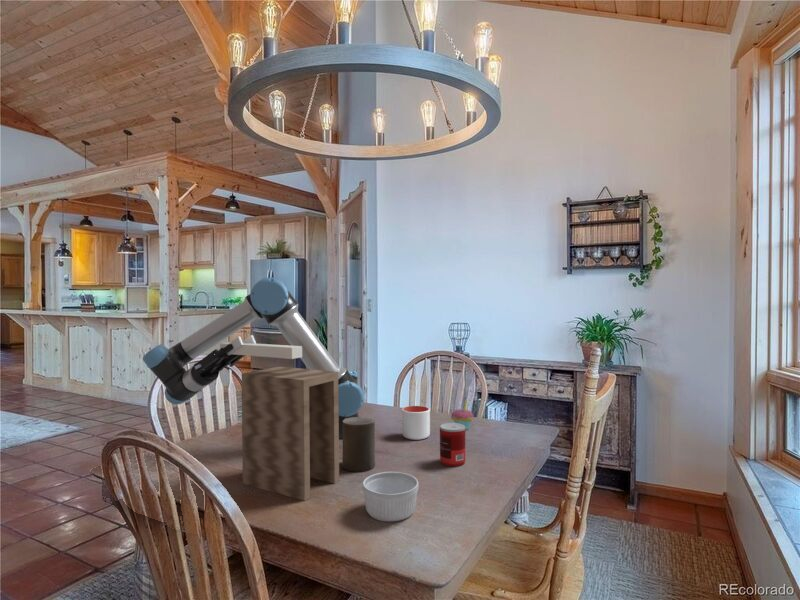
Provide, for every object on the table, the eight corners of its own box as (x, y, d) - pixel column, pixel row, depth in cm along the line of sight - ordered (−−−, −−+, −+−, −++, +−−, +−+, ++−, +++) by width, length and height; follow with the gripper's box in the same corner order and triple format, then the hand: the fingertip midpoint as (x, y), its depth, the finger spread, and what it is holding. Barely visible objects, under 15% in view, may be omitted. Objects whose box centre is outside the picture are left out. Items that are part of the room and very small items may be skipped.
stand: (242, 483, 127) (241, 373, 126) (279, 467, 139) (278, 366, 138) (304, 500, 116) (303, 380, 115) (339, 481, 128) (338, 372, 128)
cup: (427, 441, 162) (427, 412, 162) (399, 440, 164) (399, 411, 164) (431, 433, 172) (431, 406, 172) (405, 431, 174) (404, 405, 174)
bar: (220, 353, 138) (220, 343, 138) (231, 351, 141) (231, 342, 141) (292, 358, 124) (291, 347, 124) (302, 357, 127) (302, 346, 127)
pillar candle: (366, 474, 133) (367, 421, 133) (336, 469, 136) (336, 418, 136) (380, 462, 142) (380, 413, 142) (351, 459, 145) (351, 411, 145)
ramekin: (422, 523, 104) (421, 492, 104) (362, 526, 103) (362, 495, 103) (415, 498, 117) (415, 470, 117) (362, 500, 116) (362, 472, 116)
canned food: (467, 459, 144) (467, 423, 144) (462, 468, 137) (462, 430, 137) (443, 456, 147) (443, 421, 147) (437, 465, 139) (436, 428, 139)
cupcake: (477, 427, 179) (476, 396, 179) (467, 432, 172) (467, 400, 172) (456, 424, 184) (456, 393, 184) (447, 429, 177) (446, 397, 177)
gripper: (228, 381, 151) (273, 348, 141) (180, 390, 136) (227, 354, 126) (220, 360, 153) (264, 326, 143) (172, 367, 138) (218, 330, 128)
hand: (247, 339), depth 135 cm, fingers closed on bar, 4 cm apart
